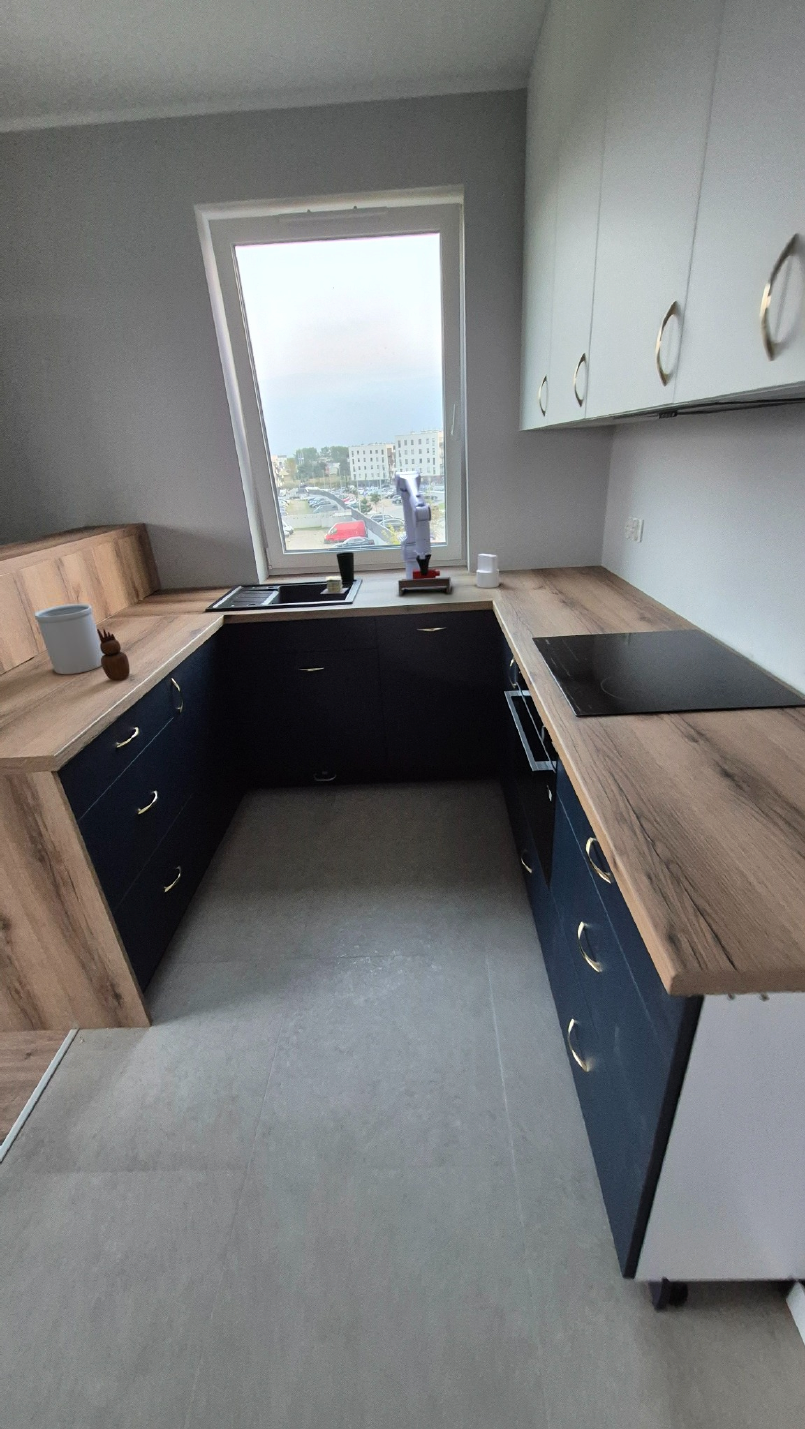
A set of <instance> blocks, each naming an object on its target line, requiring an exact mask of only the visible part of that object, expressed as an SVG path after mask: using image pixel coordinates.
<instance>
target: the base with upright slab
mask: <svg viewBox="0 0 805 1429" xmlns="http://www.w3.org/2000/svg"><path fill="white" fill-rule="evenodd" d="M498 561H499V555H498V554H497V555H496V554H490V553H478V554H477V570H476V587H477V588H483V589H491V588H495V587H496V588H497V587H498V586H500V569H499V562H498Z"/></svg>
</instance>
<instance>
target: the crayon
mask: <svg viewBox="0 0 805 1429" xmlns="http://www.w3.org/2000/svg"><path fill="white" fill-rule="evenodd" d="M437 577H441V572H440V570H437V568H431V569H430V568H428V572H427V575H423V576H422V575H421V571H420V570H413V579H427V578H437Z"/></svg>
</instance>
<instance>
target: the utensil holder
mask: <svg viewBox="0 0 805 1429" xmlns="http://www.w3.org/2000/svg"><path fill="white" fill-rule="evenodd" d="M33 616H34V620H36V621H37V624H38V628H39V630H40V633H41V636H42V640H43V643H44V645H45V650H46V651H47V655H48V657H49V660H50V661H51V662H50V663H51V665H52V668H53V671H54V672H55V673H56V674H58V675H74V674H75V675H76V674H80V673H85V672H89V671H92V670H95V669H97V668H100V667H102V665H101V658H102V656H103V655H104V654H103V653H102V651H101V648H100V644H101V641H100V638H99V634H98V631H97V629H98V628H97V626H96V622H95V618H94V615H93V608H92V605H91V604H88V603H87V604H86V603H71V604H62V605H57V606H51V607H47V608H44V609H41V610H38V611H36V612H35V613H34V615H33Z"/></svg>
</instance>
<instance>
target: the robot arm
mask: <svg viewBox="0 0 805 1429" xmlns="http://www.w3.org/2000/svg"><path fill="white" fill-rule="evenodd" d="M421 480H422V479H421V473H420V471H419V470H418V469H416V470H412V471H401V472H400V471H396V472H395V474H394V484H395V492H396V495H398V496H399V497H400V498H401V504H402V511H403V512H402V513H403V520H404V529H405V538H403V539H402V540H401V542H400V556H401V560H402V561H403V562H404V563H405V579H413V570H420V571H421V575H422V576H423V575H427V572H428V569H429V567H430V566H429V565H430V560H431V557H432V549H431V548H432V546H431V526H430V524H431V523H430V522H431V520H432V509H431V506H430V505H429V504H427V503H426V500H425V497H424V495H423V494H422V493H420V487H421V483H422V481H421Z"/></svg>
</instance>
